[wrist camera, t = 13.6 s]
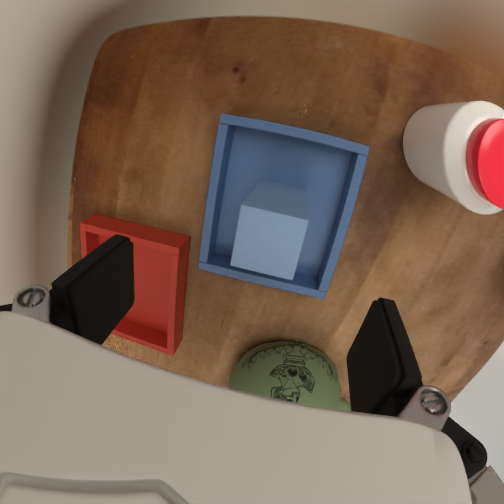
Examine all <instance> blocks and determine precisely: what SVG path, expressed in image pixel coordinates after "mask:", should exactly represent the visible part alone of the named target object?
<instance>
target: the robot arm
mask: <svg viewBox="0 0 504 504" xmlns="http://www.w3.org/2000/svg"><path fill="white" fill-rule="evenodd" d="M134 301H135V289H134V244H133V242H131V240H130V238H129V237H126V236H122V235H118V234H115V235H113V236H112V237H111V238H109V239H108V240H106V241H105V242H104V243H102V244H101V245H100V246H98V247H97V248H96V249H94V250H93V251H92V252H90V253H89V254H88V255H86V256H85V257H84V258H82V259H81V260H80V261H78V262H77V263H76V264H75V265H73V266H72V267H71V268H69V269H68V270H67V271H66V272H65V273H63V274H62V275H61V276H59V277H58V278H57V279H56V280H54V281H53V282H52V289H51V290H50V291H48V289H47V288H46V287H44V286H41V285H30V286H27V287H24V288H22V289H21V290H19V291H18V292H17V293H16V294H15V297H14V299H13V304H8V305H2V306H0V504H504V484H503V482H502V481H501V479H500V478H499V476H498V475H497V474H496V472H495V471H494V469H493V468H492V467H491V465H490V466H489V467H486V462H487V452H486V449H485V448H484V446H483V444H482V443H481V442H480V441H479V440H477V439H476V438H475V437H473V436H472V435H471V434H470V433H469V432H467V431H466V430H465V429H464V428H462V427H461V426H460V425H459V424H457V423H456V422H455V421H454V420H452V419H451V418H450V417H449V414H450V411H451V403H450V400H449V398H448V397H447V395H446V394H445V393H444V392H443V391H442V390H441V389H439V388H437V387H435V386H431V385H424V386H423V383H422V380H421V379H422V376H421V373H420V370H419V367H418V363H417V361H416V358H415V355H414V352H413V349H412V346H411V343H410V340H409V338H408V335H407V332H406V329H405V327H404V324H403V322H402V319H401V316H400V314H399V311H398V309H397V306H396V304H395V302H394V301H393V300H389V299H385V298H379V299H378V300H377V301H376V300H374V301H373V302H372V304H371V307H370V309H369V311H368V313H367V315H366V317H365V319H364V322H363V324H362V326H361V328H360V330H359V332H358V334H357V336H356V338H355V340H354V342H353V344H352V346H351V348H350V350H349V352H348V355H347V369H348V379H349V391H350V403H351V411H345V410H337V409H331V408H324V407H318V406H312V405H306V404H300V403H295V402H289V401H284V400H279V399H274V398H270V397H265V396H261V395H256V394H252V393H248V392H243V391H239V390H235V389H231V388H227V387H224V386H220V385H216V384H212V383H209V382H205V381H202V380H198V379H195V378H192V377H188V376H185V375H182V374H179V373H176V372H173V371H169V370H166V369H163V368H160V367H158V366H155V365H152V364H149V363H146V362H143V361H140V360H138V359H135V358H132V357H130V356H127V355H124V354H122V353H119V352H117V351H114V350H112V349H109V348H107V347H104V346H102V344H103V342H104V341H105V340H106V339H107V337H108V336H109V335H110V333H111V332H112V331H113V330H114V328H115V327H116V326H117V325H118V323H119V322H120V321H121V320H122V318H123V317H124V316H125V315H126V314H127V312H128V311H129V310H130V309H131V307H132V306H133V304H134Z"/></svg>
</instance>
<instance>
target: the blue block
mask: <svg viewBox="0 0 504 504" xmlns="http://www.w3.org/2000/svg"><path fill="white" fill-rule="evenodd" d="M308 223H309V212H308V195H307V189H304V188H300V187H296V186H292V185H287V184H283V183H279V182H274V181H270V180H265V179H261V180H260V182H259V183H258V184H257V185H256V187H255V188H254V189H253V190H252V192H251V193H250V194H249V195H248V197H247V198H246V199H245V201H244V202H243V203H242V204H241V206H240V212H239V217H238V223H237V229H236V234H235V240H234V246H233V251H232V257H231V263H230V265H231V266H235V267H239V268H243V269H247V270H251V271H255V272H259V273H263V274H268V275H272V276H276V277H280V278H284V279H289V280H293V278H294V274H295V271H296V267H297V264H298V260H299V257H300V253H301V249H302V246H303V242H304V238H305V235H306V231H307V227H308Z"/></svg>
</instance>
